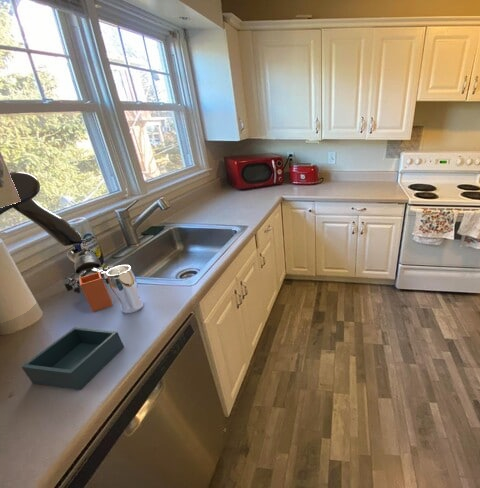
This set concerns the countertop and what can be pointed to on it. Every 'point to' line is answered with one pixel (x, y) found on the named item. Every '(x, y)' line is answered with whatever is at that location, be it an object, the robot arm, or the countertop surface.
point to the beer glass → (125, 287)
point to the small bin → (95, 291)
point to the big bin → (74, 358)
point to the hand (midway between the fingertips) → (93, 285)
